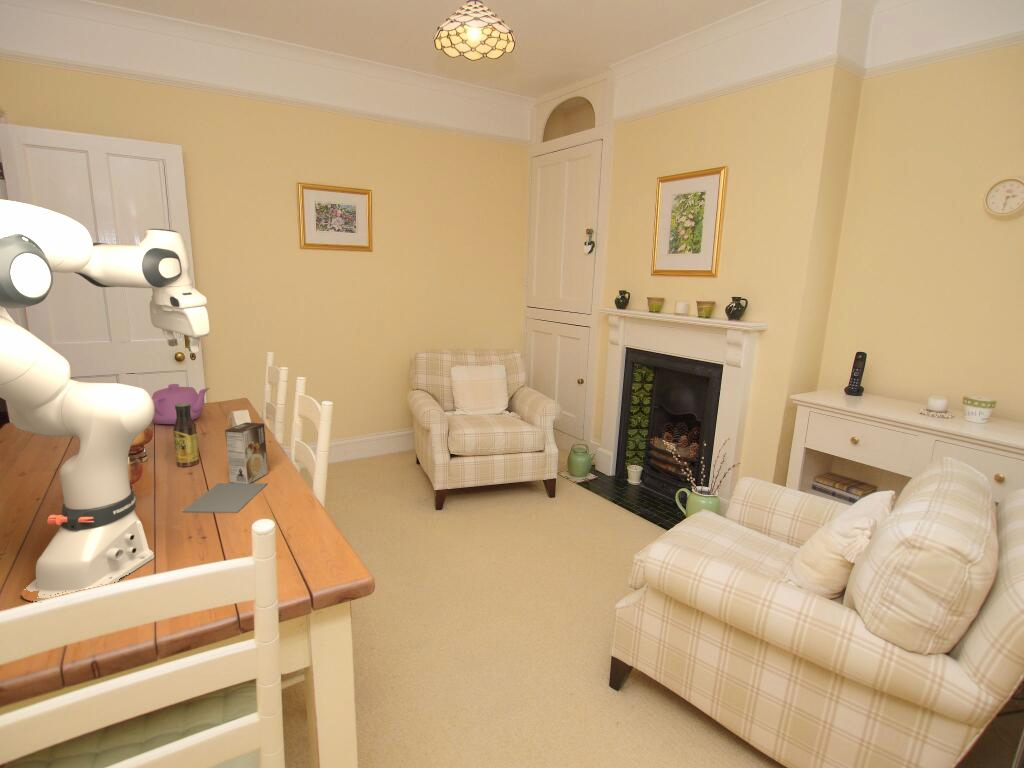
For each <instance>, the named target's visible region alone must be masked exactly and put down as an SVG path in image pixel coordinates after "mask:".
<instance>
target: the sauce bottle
mask: <svg viewBox="0 0 1024 768" xmlns="http://www.w3.org/2000/svg"><path fill="white" fill-rule="evenodd" d="M190 408H191V406H190V403H179V404H176V405H175V410H176V414H177V417H176V418H177V419H176V422H175V424H174V427H173V430H172V432H173V444H174V453H175V461H176V464H177V467H183V468H188V467H193V466H195V465H197V464H199V462H200V456H199V444H198V443H199V442H198V441H199V440H198V432H197V424H196V422H195V421H194V420H192V419H191V415H190Z"/></svg>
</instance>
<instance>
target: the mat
mask: <svg viewBox="0 0 1024 768" xmlns="http://www.w3.org/2000/svg"><path fill="white" fill-rule="evenodd" d="M267 485H268V483H267V482H266V483H264V482H263V483H262V482H261V483H260V482H259V483H258V482H257V483H255V482H254V483H253V482H251V483H249V484H242V483H232V482H218V483H216V484H215V485H214V486H213V487H212V488H210V489H209V490H208V491H206V492H205V493H204V494H203V495H201V496H200V497H198V499H196V500H195V501H193V502H192V503H191V504H189V505H187V507H186V508H185V509H183V510H182V513H217V514H218V513H223V514H224V513H226V514H227V513H230V514H231V513H235V514H237V513H239V512H240V511H241V510H242V509H243V508H245V507H246V506H247V504H249V502H250V501H252V500H253V499H254V498H255V497H254V496H255V495H256V496H257V495H258V494H259V493H260V492H261V491H262V490H263V489H264V488H266V486H267ZM257 493H258V494H257ZM253 497H254V498H253Z"/></svg>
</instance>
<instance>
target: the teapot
mask: <svg viewBox="0 0 1024 768" xmlns="http://www.w3.org/2000/svg"><path fill="white" fill-rule="evenodd" d="M167 386H168V387H165V388H162V389H159V390H156V391H155V392H153V394H152V396H151V398H152V400H153V402H154V408H155V412H154V417H153V420H152V422H151V423H153V424H158V425H175V422H176V419H177V418H176V417H177V414H176V410H175V405H176V404H179V403H190V406H191V408H190V415H191V419H192V420H193V421H194V420H196V419H199V418H200V417H201V416H202V414H203V412H204V406H205V395H206V392H207V391H208V390H210V387H206V388H202V389H200V390H199V392H197V390H196V389H195V387H192V386H180V384H178V383H170V384H167Z"/></svg>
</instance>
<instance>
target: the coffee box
mask: <svg viewBox="0 0 1024 768" xmlns="http://www.w3.org/2000/svg"><path fill="white" fill-rule="evenodd" d="M224 433H225V445H226V453H227V463H228V464H227V465H228V476H229V477H228V478H229V483H242V484H249V483H253V482H255V481H256V480H258V479H260V478H262V477H264V476H266V475H268V474H269V468H268V467H269V466H268V458H267V446H266V445H267V443H266V442H267V441H266V432H265V423H260V422H259V423H257V422H252V423H247V422H246V423H243V424H241V425H238V426H235V427H233V426H232V427H229V428H227V429H225V430H224Z"/></svg>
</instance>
